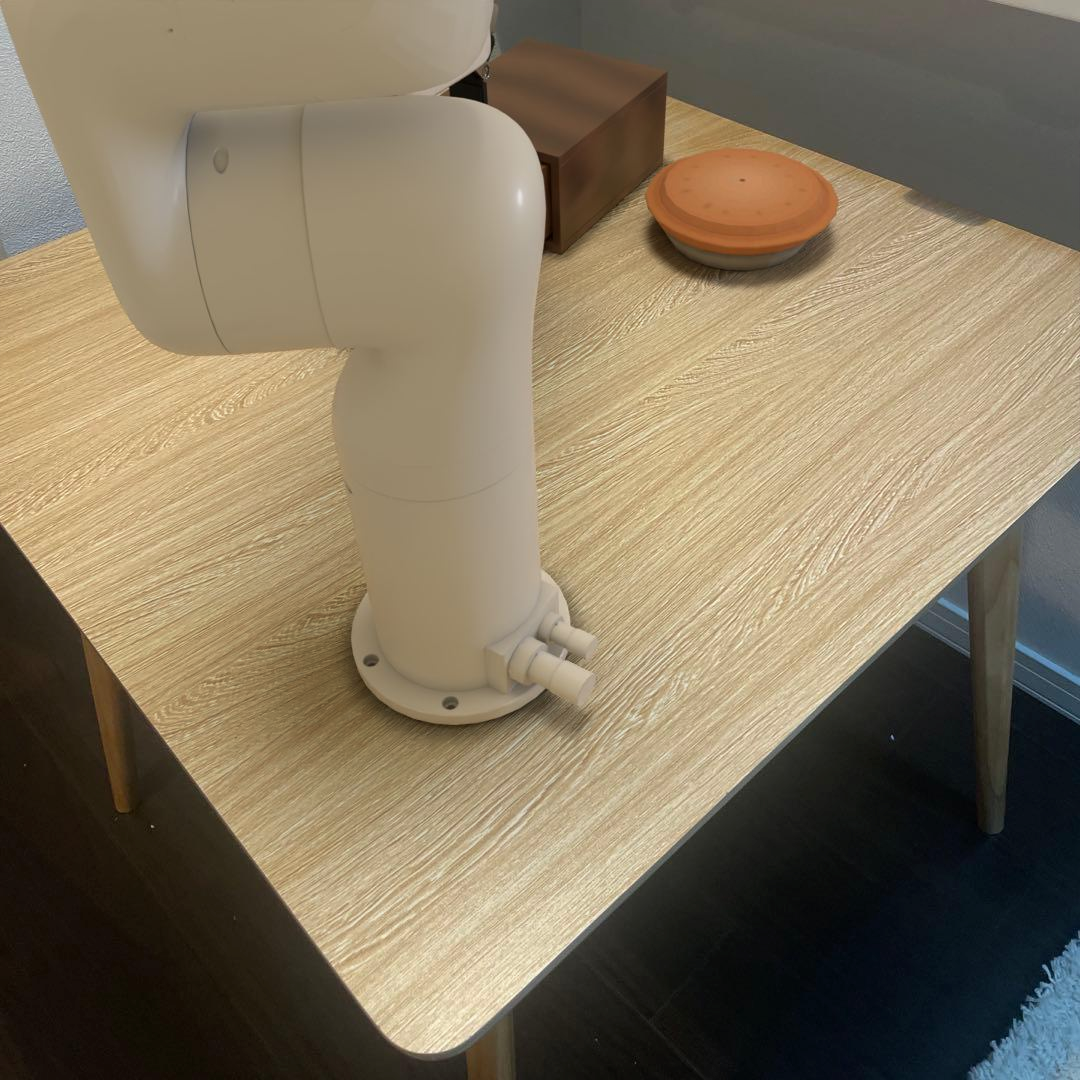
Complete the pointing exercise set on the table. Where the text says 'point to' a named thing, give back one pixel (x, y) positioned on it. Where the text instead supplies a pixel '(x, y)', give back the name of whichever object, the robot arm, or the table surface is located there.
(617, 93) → the cabinet
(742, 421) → the table surface
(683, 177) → the pie
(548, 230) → the drawer
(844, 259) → the table surface
